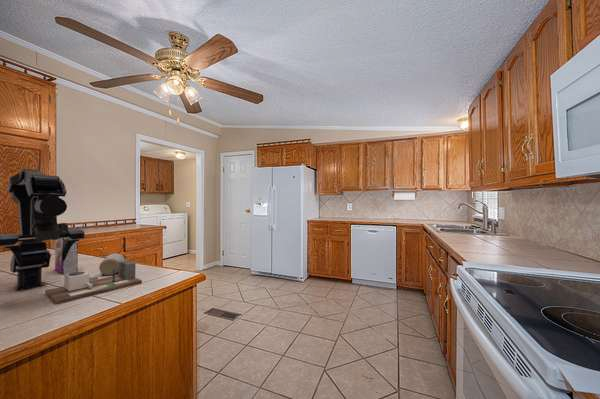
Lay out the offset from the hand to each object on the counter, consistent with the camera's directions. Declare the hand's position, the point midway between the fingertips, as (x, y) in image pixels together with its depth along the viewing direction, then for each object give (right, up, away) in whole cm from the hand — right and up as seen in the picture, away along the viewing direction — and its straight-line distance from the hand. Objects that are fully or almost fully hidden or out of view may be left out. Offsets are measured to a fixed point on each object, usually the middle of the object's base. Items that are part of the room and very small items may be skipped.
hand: (43, 263), depth 76 cm
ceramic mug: (+3, -11, +26) cm, 29 cm away
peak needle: (+16, -9, +9) cm, 20 cm away
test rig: (+10, -11, +8) cm, 17 cm away
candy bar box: (-19, -11, +27) cm, 34 cm away
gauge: (+8, -9, +6) cm, 14 cm away
